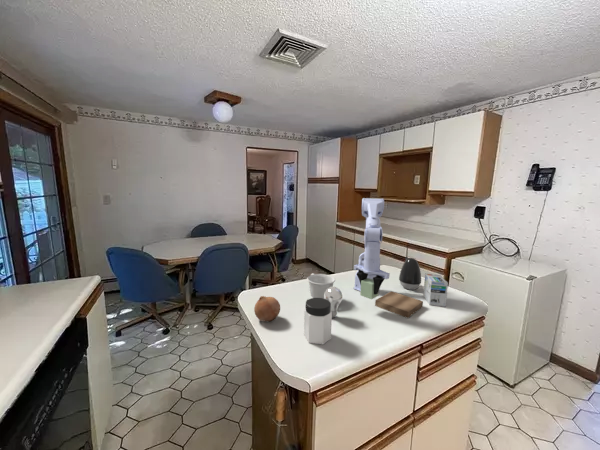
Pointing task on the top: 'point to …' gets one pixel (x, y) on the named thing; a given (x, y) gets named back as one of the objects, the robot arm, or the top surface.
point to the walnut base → (399, 304)
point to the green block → (368, 288)
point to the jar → (317, 320)
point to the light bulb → (333, 298)
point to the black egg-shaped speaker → (410, 274)
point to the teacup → (319, 284)
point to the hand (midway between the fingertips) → (369, 291)
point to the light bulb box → (435, 290)
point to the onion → (267, 309)
